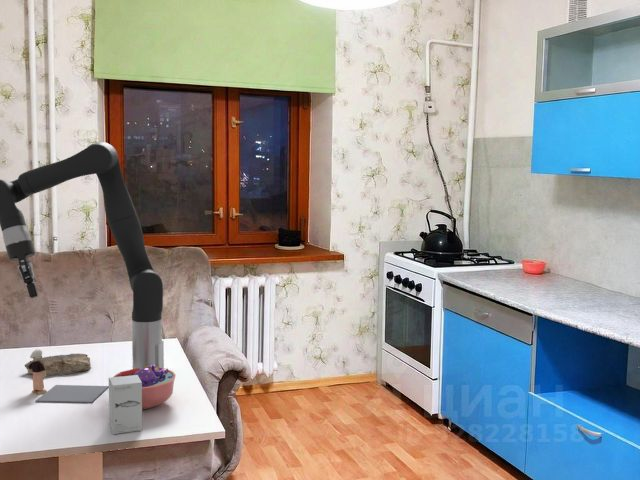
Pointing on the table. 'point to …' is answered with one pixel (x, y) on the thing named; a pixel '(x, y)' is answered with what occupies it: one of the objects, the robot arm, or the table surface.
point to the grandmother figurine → (37, 372)
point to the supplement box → (125, 404)
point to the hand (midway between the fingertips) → (34, 297)
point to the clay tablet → (64, 364)
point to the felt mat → (72, 394)
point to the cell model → (153, 384)
